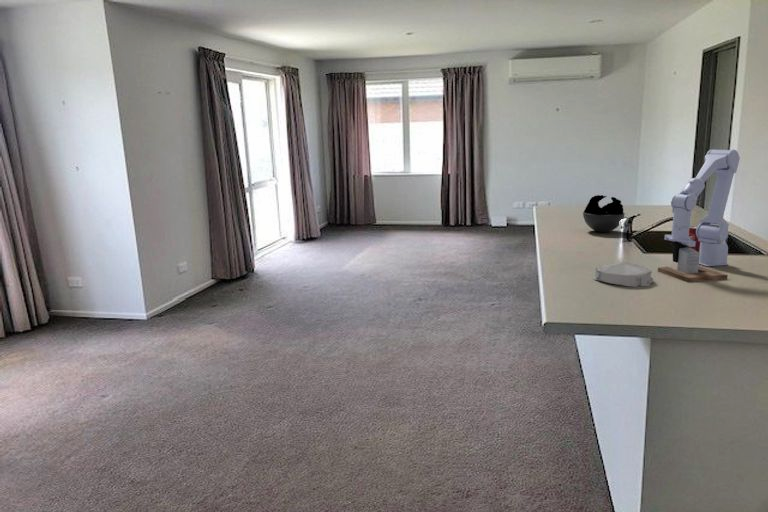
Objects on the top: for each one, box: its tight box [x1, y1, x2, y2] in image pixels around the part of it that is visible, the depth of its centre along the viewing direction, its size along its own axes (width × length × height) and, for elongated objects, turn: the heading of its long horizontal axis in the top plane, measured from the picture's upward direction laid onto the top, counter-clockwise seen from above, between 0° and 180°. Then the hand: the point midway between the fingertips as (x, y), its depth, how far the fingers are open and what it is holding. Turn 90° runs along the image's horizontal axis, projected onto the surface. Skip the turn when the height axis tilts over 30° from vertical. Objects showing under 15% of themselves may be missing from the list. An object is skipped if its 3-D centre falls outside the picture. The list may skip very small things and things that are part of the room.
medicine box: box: [676, 248, 700, 274], centre depth 212 cm, size 8×4×9 cm, turn 173°
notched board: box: [657, 265, 729, 283], centre depth 211 cm, size 16×16×2 cm
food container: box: [592, 261, 654, 288], centre depth 206 cm, size 20×20×7 cm
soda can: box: [686, 225, 700, 252], centre depth 241 cm, size 7×7×12 cm
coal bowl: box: [582, 194, 626, 233], centre depth 297 cm, size 20×20×19 cm
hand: (677, 262), depth 218 cm, fingers closed, pressing on medicine box
